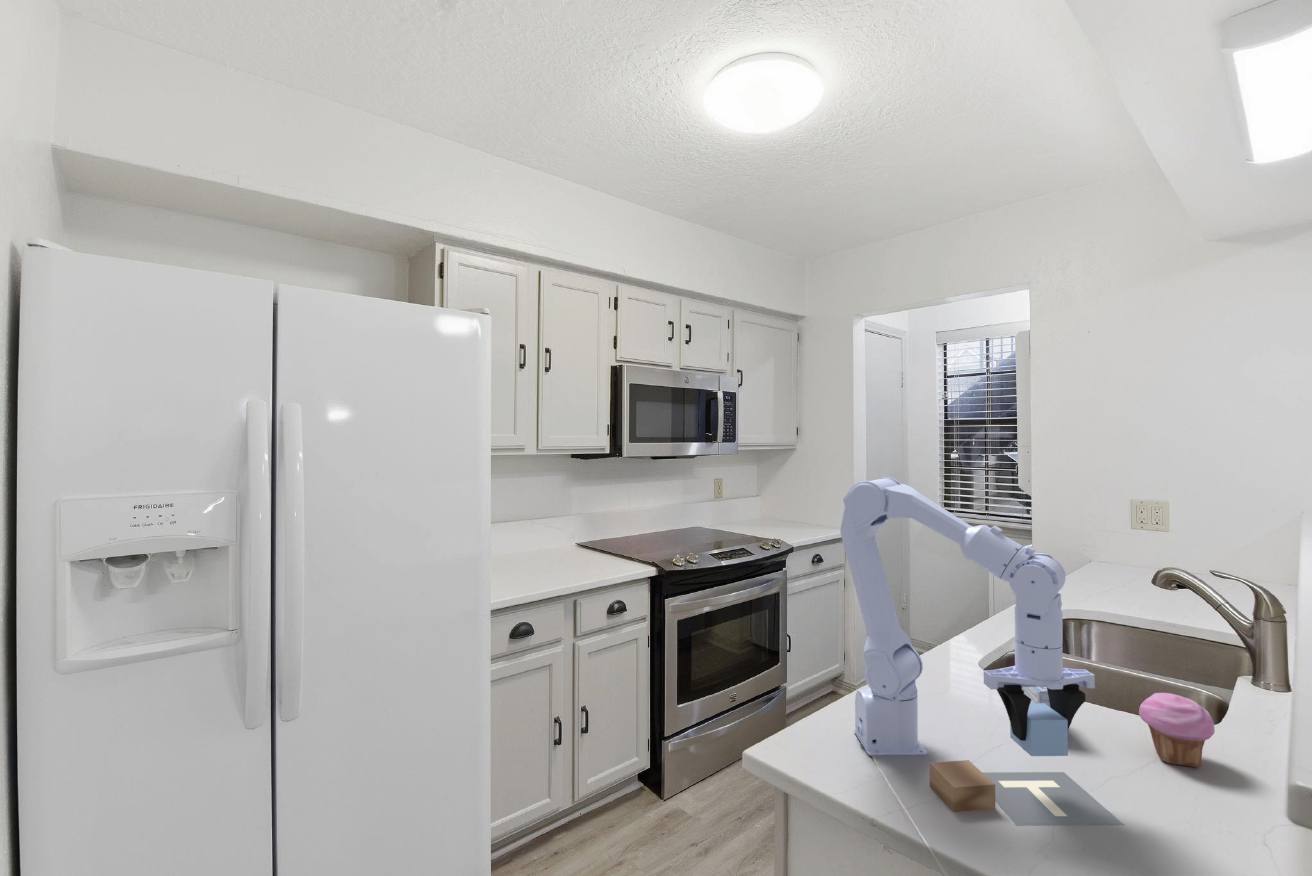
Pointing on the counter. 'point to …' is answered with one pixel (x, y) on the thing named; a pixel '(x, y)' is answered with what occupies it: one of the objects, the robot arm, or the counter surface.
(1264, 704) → the counter surface
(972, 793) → the walnut block
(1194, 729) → the cupcake
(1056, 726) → the blue cube
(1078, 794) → the board
